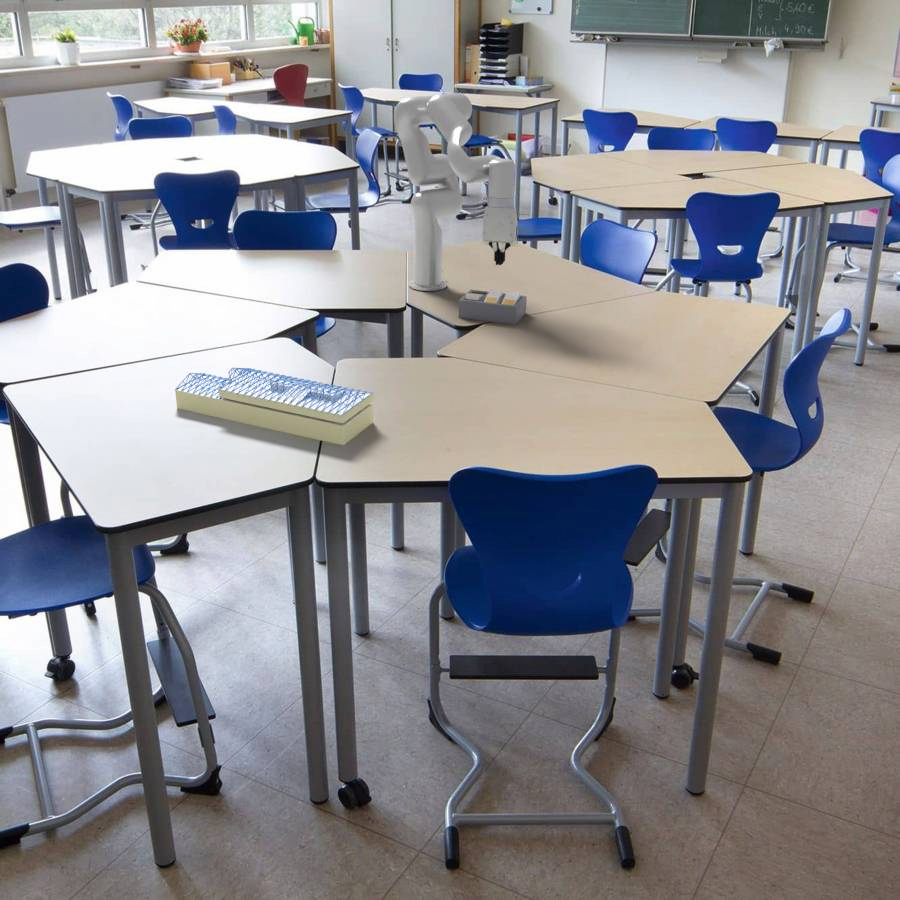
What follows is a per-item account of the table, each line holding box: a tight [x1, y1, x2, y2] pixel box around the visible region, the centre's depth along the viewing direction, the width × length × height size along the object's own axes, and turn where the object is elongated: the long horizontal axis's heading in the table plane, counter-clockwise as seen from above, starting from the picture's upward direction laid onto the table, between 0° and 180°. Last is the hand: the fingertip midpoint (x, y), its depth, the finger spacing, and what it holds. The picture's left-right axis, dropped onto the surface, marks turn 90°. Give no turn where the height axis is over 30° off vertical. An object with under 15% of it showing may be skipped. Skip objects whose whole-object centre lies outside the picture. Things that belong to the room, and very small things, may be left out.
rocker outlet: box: [501, 291, 521, 305], centre depth 297 cm, size 8×4×2 cm, turn 161°
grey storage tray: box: [458, 289, 528, 326], centre depth 300 cm, size 12×18×6 cm, turn 72°
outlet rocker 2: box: [484, 289, 504, 303], centre depth 298 cm, size 8×4×2 cm, turn 161°
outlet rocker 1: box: [465, 292, 485, 301], centre depth 300 cm, size 8×4×2 cm, turn 162°
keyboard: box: [174, 367, 374, 446], centre depth 227 cm, size 45×15×10 cm, turn 66°
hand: (499, 263), depth 296 cm, fingers closed
